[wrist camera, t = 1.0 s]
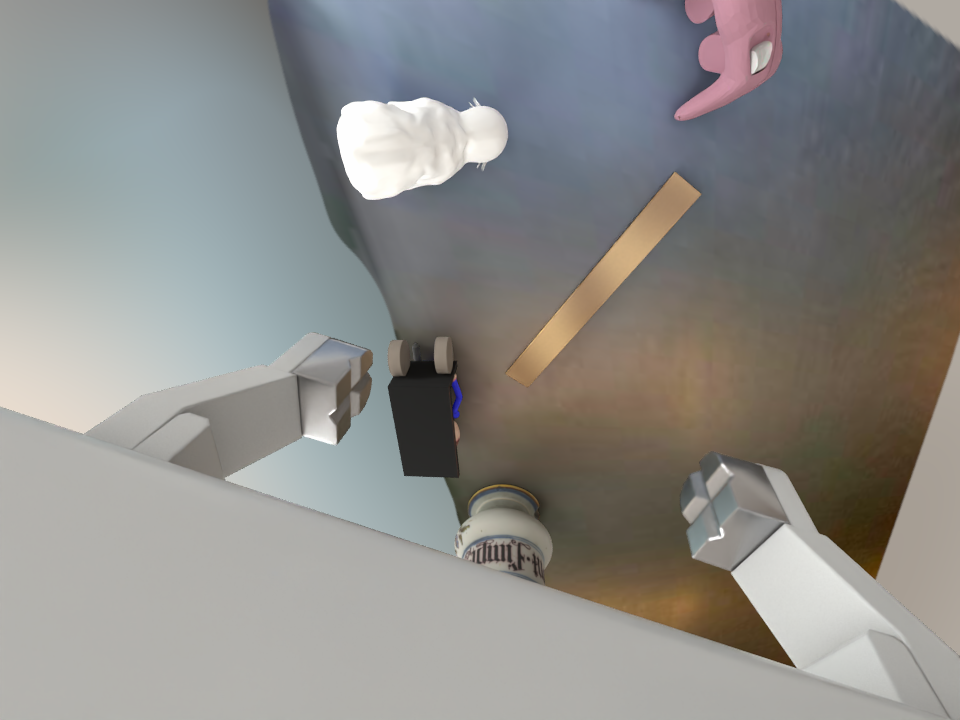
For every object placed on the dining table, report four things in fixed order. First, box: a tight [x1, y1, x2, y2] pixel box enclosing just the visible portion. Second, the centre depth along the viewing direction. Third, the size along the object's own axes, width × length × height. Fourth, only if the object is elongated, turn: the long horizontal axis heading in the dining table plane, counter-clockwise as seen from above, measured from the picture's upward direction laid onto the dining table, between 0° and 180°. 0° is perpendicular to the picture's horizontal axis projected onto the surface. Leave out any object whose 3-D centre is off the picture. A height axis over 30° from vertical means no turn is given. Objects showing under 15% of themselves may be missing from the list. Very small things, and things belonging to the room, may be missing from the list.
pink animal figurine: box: [674, 0, 783, 121], centre depth 26 cm, size 10×5×7 cm, turn 30°
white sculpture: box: [337, 98, 508, 200], centre depth 30 cm, size 6×8×12 cm
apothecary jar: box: [455, 484, 552, 586], centre depth 47 cm, size 12×12×18 cm
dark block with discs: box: [388, 337, 463, 478], centre depth 43 cm, size 7×8×15 cm
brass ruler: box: [506, 172, 701, 387], centre depth 39 cm, size 24×3×1 cm, turn 147°
